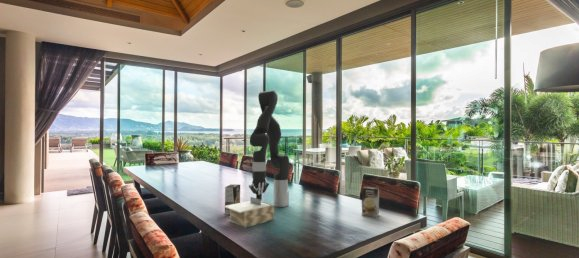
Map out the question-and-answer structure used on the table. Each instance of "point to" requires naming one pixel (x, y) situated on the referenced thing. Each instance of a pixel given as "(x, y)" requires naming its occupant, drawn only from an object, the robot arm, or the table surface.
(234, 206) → the lid
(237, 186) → the coffee box
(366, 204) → the coffee box
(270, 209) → the wooden box
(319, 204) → the table surface
